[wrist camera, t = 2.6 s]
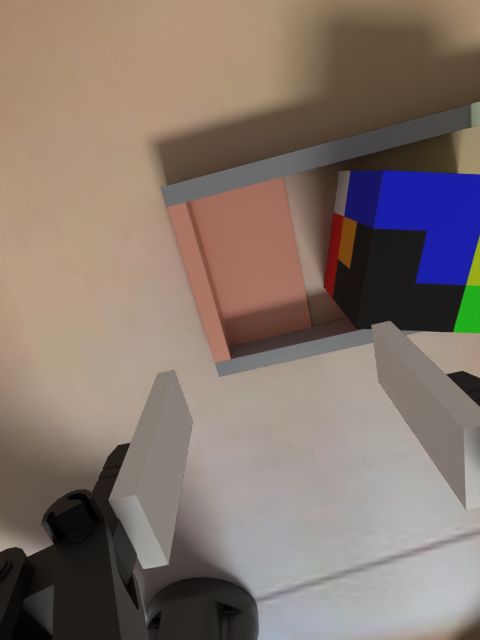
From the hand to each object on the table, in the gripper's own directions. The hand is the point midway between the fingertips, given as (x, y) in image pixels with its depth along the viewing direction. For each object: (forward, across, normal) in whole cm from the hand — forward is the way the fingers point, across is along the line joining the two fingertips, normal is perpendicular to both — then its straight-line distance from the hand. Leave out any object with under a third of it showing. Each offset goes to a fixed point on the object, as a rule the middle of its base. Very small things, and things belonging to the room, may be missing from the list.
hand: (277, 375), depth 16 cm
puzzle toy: (+20, +12, 0) cm, 23 cm away
